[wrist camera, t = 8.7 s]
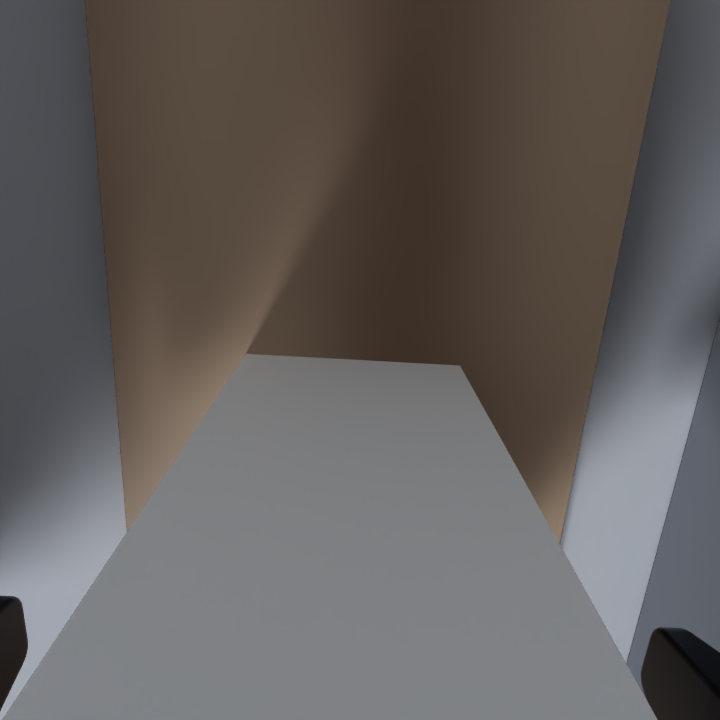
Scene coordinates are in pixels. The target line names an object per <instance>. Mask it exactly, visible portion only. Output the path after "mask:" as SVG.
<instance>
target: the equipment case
mask: <svg viewBox="0 0 720 720" xmlns="http://www.w3.org/2000/svg"><path fill="white" fill-rule="evenodd" d="M658 627H673V628H683V629H686V630H688V631H690V632H691V633H693V634H694V635H696V636H697V637H698V638H700V639H701V640H703V641H704V642H706V643H707V644H708V645H710V646H711V647H713V648H714V649H716V650H717V651H718V652H720V321H719V324H718V328H717V332H716V336H715V339H714V343H713V347H712V350H711V354H710V358H709V361H708V365H707V369H706V373H705V376H704V380H703V384H702V387H701V391H700V395H699V398H698V402H697V406H696V410H695V413H694V417H693V421H692V424H691V428H690V432H689V436H688V439H687V443H686V447H685V450H684V454H683V458H682V461H681V465H680V469H679V473H678V476H677V480H676V484H675V487H674V491H673V495H672V498H671V502H670V506H669V510H668V513H667V517H666V521H665V524H664V528H663V532H662V536H661V539H660V543H659V547H658V550H657V554H656V558H655V561H654V565H653V569H652V573H651V576H650V580H649V584H648V587H647V591H646V595H645V598H644V602H643V606H642V610H641V613H640V617H639V621H638V624H637V628H636V632H635V636H634V639H633V643H632V647H631V650H630V654H629V658H628V661H627V666H628V668H629V669H630V671H631V673H632V675H633V677H634V678H635V680H636V682H637V684H638V686H639V687H640V689H641V691H642V693H643V695H644V696H645V694H644V691H643V688H642V684H641V668H642V664H643V661H644V657H645V654H646V650H647V647H648V643H649V639H650V636H651V633H652V631H653V630H654V629H655V628H658ZM645 698H646V697H645Z"/></svg>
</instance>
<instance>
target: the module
mask: <svg viewBox="0 0 720 720" xmlns="http://www.w3.org/2000/svg"><path fill="white" fill-rule="evenodd" d="M2 720H657V718H656V716H655V714H654V712H653V711H652V709H651V707H650V705H649V704H648V702H647V700H646V698H645V696H644V695H643V693H642V691H641V689H640V687H639V686H638V684H637V682H636V680H635V678H634V677H633V675H632V673H631V671H630V669H629V668H628V666H627V664H626V662H625V660H624V659H623V657H622V655H621V653H620V652H619V650H618V648H617V646H616V644H615V643H614V641H613V639H612V637H611V635H610V634H609V632H608V630H607V628H606V626H605V625H604V623H603V621H602V619H601V617H600V616H599V614H598V612H597V610H596V609H595V607H594V605H593V603H592V601H591V600H590V598H589V596H588V594H587V592H586V591H585V589H584V587H583V585H582V583H581V582H580V580H579V578H578V576H577V574H576V573H575V571H574V569H573V567H572V565H571V564H570V562H569V560H568V558H567V557H566V555H565V553H564V551H563V549H562V548H561V546H560V544H559V542H558V540H557V539H556V537H555V535H554V533H553V531H552V530H551V528H550V526H549V524H548V522H547V521H546V519H545V517H544V515H543V514H542V512H541V510H540V508H539V506H538V505H537V503H536V501H535V499H534V497H533V496H532V494H531V492H530V490H529V488H528V487H527V485H526V483H525V481H524V479H523V478H522V476H521V474H520V472H519V470H518V469H517V467H516V465H515V463H514V462H513V460H512V458H511V456H510V454H509V453H508V451H507V449H506V447H505V445H504V444H503V442H502V440H501V438H500V436H499V435H498V433H497V431H496V429H495V427H494V426H493V424H492V422H491V420H490V419H489V417H488V415H487V413H486V411H485V410H484V408H483V406H482V404H481V402H480V401H479V399H478V397H477V395H476V393H475V392H474V390H473V388H472V386H471V384H470V383H469V381H468V379H467V377H466V375H465V374H464V372H463V370H462V368H461V367H460V365H442V364H423V363H405V362H387V361H369V360H350V359H332V358H314V357H296V356H278V355H259V354H245V355H244V357H243V358H242V360H241V361H240V363H239V364H238V366H237V367H236V369H235V370H234V372H233V373H232V375H231V376H230V378H229V379H228V381H227V382H226V384H225V385H224V387H223V388H222V390H221V391H220V393H219V394H218V396H217V398H216V399H215V401H214V402H213V404H212V405H211V407H210V408H209V410H208V411H207V413H206V414H205V416H204V417H203V419H202V420H201V422H200V423H199V425H198V426H197V428H196V429H195V431H194V432H193V434H192V435H191V437H190V438H189V440H188V441H187V443H186V444H185V446H184V447H183V449H182V450H181V452H180V453H179V455H178V456H177V458H176V459H175V461H174V462H173V464H172V465H171V467H170V468H169V470H168V471H167V473H166V474H165V476H164V477H163V479H162V480H161V482H160V483H159V485H158V486H157V488H156V489H155V491H154V492H153V494H152V495H151V497H150V498H149V500H148V501H147V503H146V504H145V506H144V507H143V509H142V510H141V512H140V513H139V515H138V516H137V518H136V519H135V521H134V522H133V524H132V525H131V527H130V528H129V530H128V531H127V533H126V534H125V536H124V537H123V539H122V540H121V542H120V543H119V545H118V546H117V548H116V549H115V551H114V552H113V554H112V555H111V557H110V558H109V560H108V561H107V563H106V564H105V566H104V567H103V569H102V570H101V572H100V573H99V575H98V576H97V578H96V579H95V581H94V583H93V584H92V586H91V587H90V589H89V590H88V592H87V593H86V595H85V596H84V598H83V599H82V601H81V602H80V604H79V605H78V607H77V608H76V610H75V611H74V613H73V614H72V616H71V617H70V619H69V620H68V622H67V623H66V625H65V626H64V628H63V629H62V631H61V632H60V634H59V635H58V637H57V638H56V640H55V641H54V643H53V644H52V646H51V647H50V649H49V650H48V652H47V653H46V655H45V656H44V658H43V659H42V661H41V662H40V664H39V665H38V667H37V668H36V670H35V671H34V673H33V674H32V676H31V677H30V679H29V680H28V682H27V683H26V685H25V686H24V688H23V689H22V691H21V692H20V694H19V695H18V697H17V698H16V700H15V701H14V703H13V704H12V706H11V707H10V709H9V710H8V712H7V713H6V715H5V716H4V718H3V719H2Z"/></svg>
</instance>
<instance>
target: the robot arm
mask: <svg viewBox="0 0 720 720" xmlns="http://www.w3.org/2000/svg"><path fill="white" fill-rule="evenodd" d="M27 649H28V639H27V632H26V626H25V620H24V613H23V607H22V603H21V601H20V600H19V599H18V598H17V597H14V596H0V711H1V708H2V706H3V704H4V702H5V700H6V698H7V696H8V694H9V692H10V690H11V688H12V686H13V683H14V681H15V679H16V677H17V675H18V673H19V671H20V669H21V667H22V665H23V662H24V660H25V657H26V654H27ZM641 684H642V688H643V691H644V694H645V697H646V700H647V702H648V704H649V705H650V707H651V709H652V711H653V712H654V714H655V716H656V718H657V720H720V652H718V651H717V650H716V649H714V648H713V647H711V646H710V645H708V644H707V643H706V642H704V641H703V640H701V639H700V638H698V637H697V636H696V635H694V634H693V633H691V632H690V631H688V630H686V629H683V628H673V627H658V628H655V629H654V630H653V631H652V633H651V636H650V639H649V643H648V647H647V650H646V654H645V657H644V661H643V664H642V668H641Z"/></svg>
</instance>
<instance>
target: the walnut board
mask: <svg viewBox="0 0 720 720" xmlns="http://www.w3.org/2000/svg"><path fill="white" fill-rule="evenodd" d="M670 1H671V0H85V7H86V20H87V33H88V45H89V58H90V71H91V83H92V96H93V109H94V121H95V134H96V147H97V159H98V172H99V185H100V197H101V210H102V223H103V235H104V248H105V261H106V273H107V286H108V299H109V312H110V324H111V337H112V350H113V362H114V375H115V388H116V400H117V413H118V426H119V438H120V451H121V464H122V476H123V489H124V502H125V514H126V527H127V531H128V530H129V528H130V527H131V525H132V524H133V522H134V521H135V519H136V518H137V516H138V515H139V513H140V512H141V510H142V509H143V507H144V506H145V504H146V503H147V501H148V500H149V498H150V497H151V495H152V494H153V492H154V491H155V489H156V488H157V486H158V485H159V483H160V482H161V480H162V479H163V477H164V476H165V474H166V473H167V471H168V470H169V468H170V467H171V465H172V464H173V462H174V461H175V459H176V458H177V456H178V455H179V453H180V452H181V450H182V449H183V447H184V446H185V444H186V443H187V441H188V440H189V438H190V437H191V435H192V434H193V432H194V431H195V429H196V428H197V426H198V425H199V423H200V422H201V420H202V419H203V417H204V416H205V414H206V413H207V411H208V410H209V408H210V407H211V405H212V404H213V402H214V401H215V399H216V398H217V396H218V394H219V393H220V391H221V390H222V388H223V387H224V385H225V384H226V382H227V381H228V379H229V378H230V376H231V375H232V373H233V372H234V370H235V369H236V367H237V366H238V364H239V363H240V361H241V360H242V358H243V357H244V355H245V354H259V355H278V356H296V357H314V358H332V359H350V360H369V361H387V362H405V363H423V364H442V365H460V367H461V368H462V370H463V372H464V374H465V375H466V377H467V379H468V381H469V383H470V384H471V386H472V388H473V390H474V392H475V393H476V395H477V397H478V399H479V401H480V402H481V404H482V406H483V408H484V410H485V411H486V413H487V415H488V417H489V419H490V420H491V422H492V424H493V426H494V427H495V429H496V431H497V433H498V435H499V436H500V438H501V440H502V442H503V444H504V445H505V447H506V449H507V451H508V453H509V454H510V456H511V458H512V460H513V462H514V463H515V465H516V467H517V469H518V470H519V472H520V474H521V476H522V478H523V479H524V481H525V483H526V485H527V487H528V488H529V490H530V492H531V494H532V496H533V497H534V499H535V501H536V503H537V505H538V506H539V508H540V510H541V512H542V514H543V515H544V517H545V519H546V521H547V522H548V524H549V526H550V528H551V530H552V531H553V533H554V535H555V537H556V539H557V540H558V542H559V544H560V539H561V534H562V529H563V524H564V519H565V515H566V510H567V505H568V500H569V495H570V490H571V485H572V480H573V475H574V471H575V466H576V461H577V456H578V451H579V446H580V441H581V436H582V431H583V426H584V422H585V417H586V412H587V407H588V402H589V397H590V392H591V387H592V382H593V378H594V373H595V368H596V363H597V358H598V353H599V348H600V343H601V338H602V334H603V329H604V324H605V319H606V314H607V309H608V304H609V299H610V294H611V290H612V285H613V280H614V275H615V270H616V265H617V260H618V255H619V250H620V246H621V241H622V236H623V231H624V226H625V221H626V216H627V211H628V206H629V202H630V197H631V192H632V187H633V182H634V177H635V172H636V167H637V162H638V158H639V153H640V148H641V143H642V138H643V133H644V128H645V123H646V118H647V114H648V109H649V104H650V99H651V94H652V89H653V84H654V79H655V74H656V70H657V65H658V60H659V55H660V50H661V45H662V40H663V35H664V30H665V26H666V21H667V16H668V11H669V6H670Z"/></svg>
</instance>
